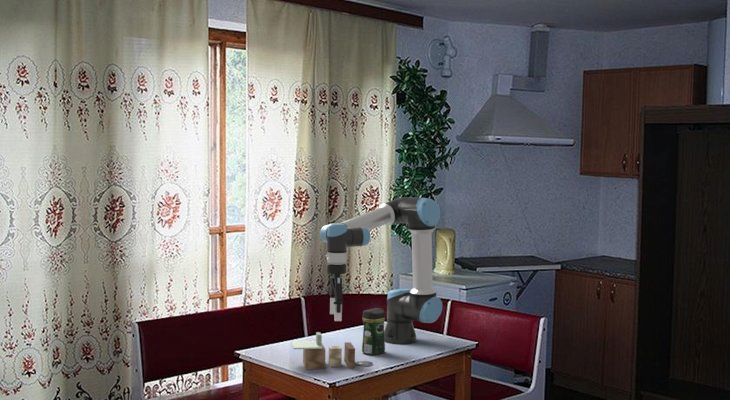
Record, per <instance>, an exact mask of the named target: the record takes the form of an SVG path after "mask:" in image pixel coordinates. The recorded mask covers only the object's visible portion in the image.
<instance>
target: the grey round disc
mask: <svg viewBox="0 0 730 400" xmlns="http://www.w3.org/2000/svg"><path fill="white" fill-rule="evenodd" d="M355 366H358V367H370V366H373V362H372V361H369V360H359V361H355Z"/></svg>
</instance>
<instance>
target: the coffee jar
mask: <svg viewBox="0 0 730 400" xmlns="http://www.w3.org/2000/svg"><path fill="white" fill-rule="evenodd" d="M361 318H362V323H363V332H362V333H363V334H362V342H361V343H362V344H361V352H362V353H363V354H365V355H367V356H369V355H373V356H374V355H375V356H376V355H380V354H384V353H385V352H386V351H385V350H386V342H385V340H384V330H385V321H386V320H385V319H386V312H385V310H384V309H383V308H380V307H379V308H378V307H375V308H371V309H365V310H363V312H362V317H361Z"/></svg>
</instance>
